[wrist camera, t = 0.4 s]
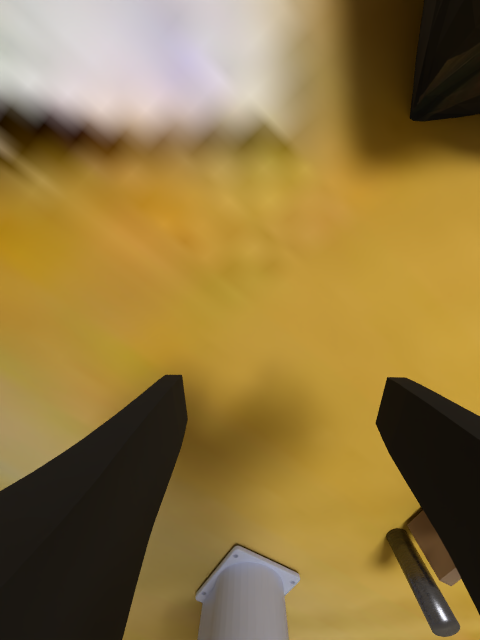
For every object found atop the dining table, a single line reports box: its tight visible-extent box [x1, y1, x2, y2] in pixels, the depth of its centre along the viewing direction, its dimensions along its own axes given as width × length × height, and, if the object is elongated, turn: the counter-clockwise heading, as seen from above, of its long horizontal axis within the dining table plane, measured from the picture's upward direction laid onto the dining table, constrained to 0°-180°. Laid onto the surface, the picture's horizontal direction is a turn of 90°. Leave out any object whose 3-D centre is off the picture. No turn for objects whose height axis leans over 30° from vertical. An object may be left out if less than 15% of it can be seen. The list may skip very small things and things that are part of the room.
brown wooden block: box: [407, 511, 461, 586], centre depth 19 cm, size 8×2×4 cm, turn 150°
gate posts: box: [387, 529, 460, 637], centre depth 19 cm, size 14×2×6 cm, turn 150°
